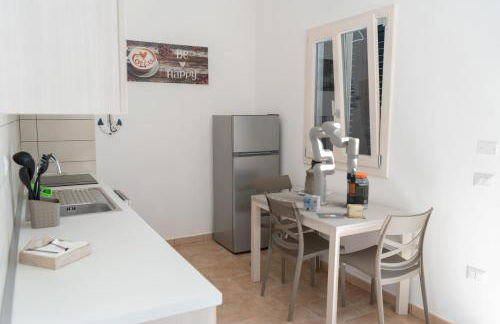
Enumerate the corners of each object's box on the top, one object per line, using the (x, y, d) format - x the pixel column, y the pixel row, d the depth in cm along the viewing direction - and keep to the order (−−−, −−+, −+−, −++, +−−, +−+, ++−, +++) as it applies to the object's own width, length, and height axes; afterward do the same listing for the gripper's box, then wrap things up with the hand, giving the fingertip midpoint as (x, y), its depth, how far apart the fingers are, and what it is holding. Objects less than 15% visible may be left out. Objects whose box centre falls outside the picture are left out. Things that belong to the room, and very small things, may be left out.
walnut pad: (343, 214, 272) (343, 213, 272) (360, 214, 273) (360, 213, 272) (348, 218, 260) (348, 217, 260) (366, 218, 261) (366, 217, 261)
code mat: (315, 213, 273) (315, 212, 273) (339, 213, 273) (339, 213, 273) (319, 218, 259) (319, 218, 259) (344, 219, 259) (344, 218, 259)
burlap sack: (325, 198, 324) (326, 160, 320) (297, 195, 334) (298, 158, 330) (332, 192, 346) (333, 157, 342) (305, 190, 356) (306, 155, 352)
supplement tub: (367, 205, 298) (369, 172, 295) (368, 210, 283) (369, 175, 280) (346, 204, 302) (347, 171, 299) (345, 209, 287) (347, 174, 284)
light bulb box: (302, 210, 282) (303, 195, 280) (306, 208, 287) (306, 194, 286) (317, 212, 277) (317, 197, 275) (320, 210, 282) (320, 195, 281)
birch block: (346, 214, 269) (347, 204, 269) (359, 214, 270) (360, 204, 269) (349, 216, 263) (349, 206, 263) (362, 216, 264) (362, 206, 263)
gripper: (343, 154, 272) (342, 178, 275) (350, 158, 255) (348, 183, 258) (354, 154, 273) (352, 178, 275) (361, 158, 256) (360, 183, 258)
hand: (350, 180), depth 267 cm, fingers open, 9 cm apart
